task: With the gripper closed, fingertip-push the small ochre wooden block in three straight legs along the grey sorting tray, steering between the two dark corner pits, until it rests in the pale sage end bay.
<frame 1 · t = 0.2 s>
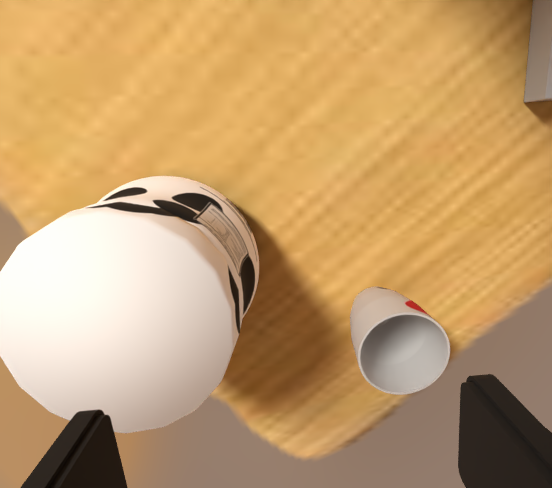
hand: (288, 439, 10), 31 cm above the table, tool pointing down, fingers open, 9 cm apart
cup: (373, 306, 43), on the table
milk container: (181, 252, 41), on the table
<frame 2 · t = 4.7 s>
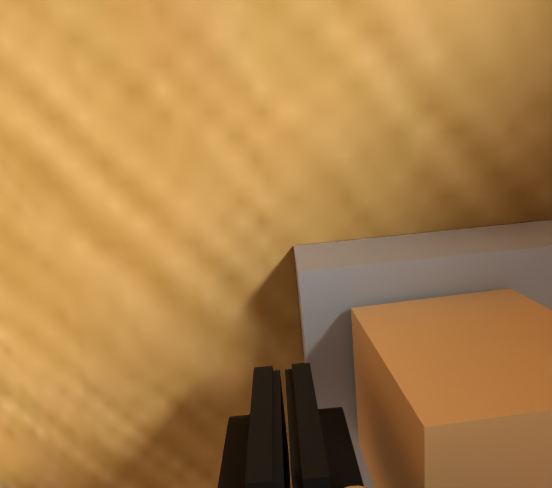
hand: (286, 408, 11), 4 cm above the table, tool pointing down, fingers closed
block: (430, 369, 12), point 3 cm above the table, touching grey sorting tray, gripper
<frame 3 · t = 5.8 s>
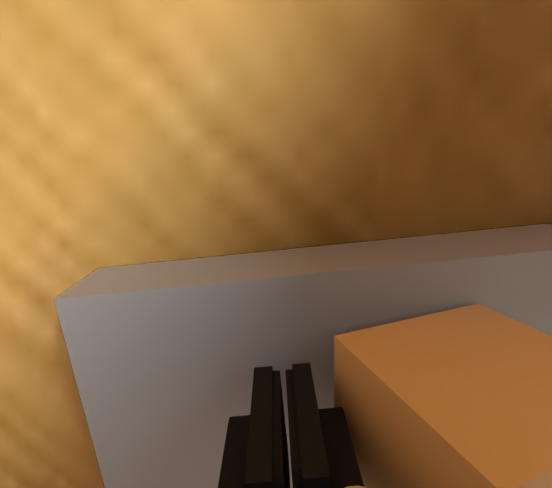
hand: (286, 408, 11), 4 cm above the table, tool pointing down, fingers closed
grey sorting tray: (413, 453, 17), on the table
block: (407, 393, 11), point 4 cm above the table, tilted 20°, touching gripper
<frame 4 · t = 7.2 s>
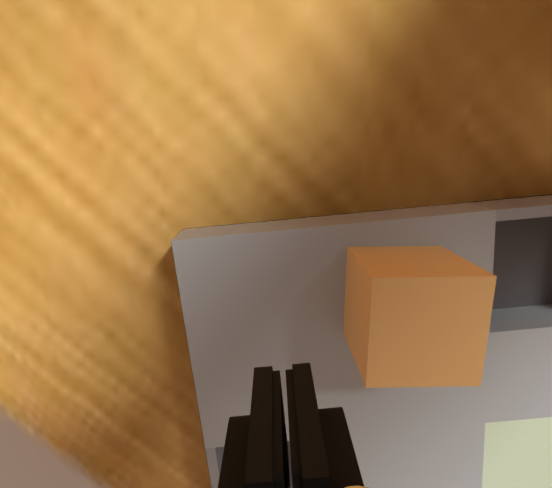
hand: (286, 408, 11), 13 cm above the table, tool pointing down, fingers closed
grey sorting tray: (386, 359, 25), on the table
block: (390, 290, 20), point 3 cm above the table, touching grey sorting tray
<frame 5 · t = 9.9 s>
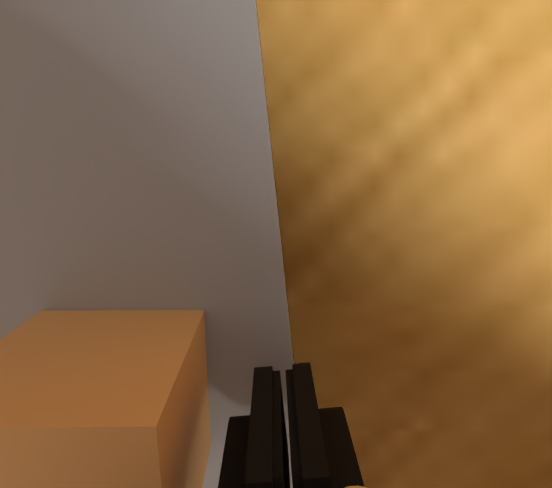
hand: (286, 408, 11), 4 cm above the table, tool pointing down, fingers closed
grey sorting tray: (49, 362, 15), on the table
block: (130, 381, 12), point 3 cm above the table, touching gripper
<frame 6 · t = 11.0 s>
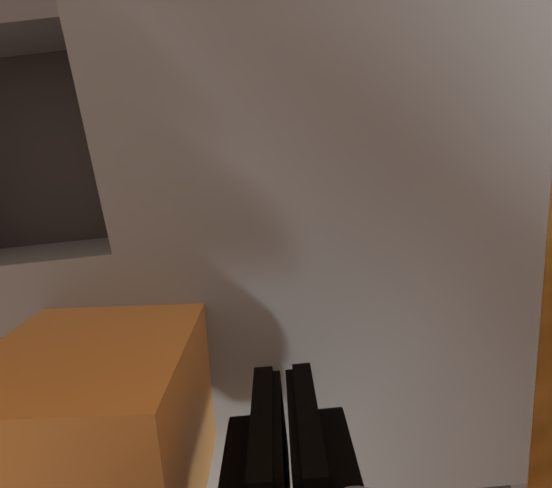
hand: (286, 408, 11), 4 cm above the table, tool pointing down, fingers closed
grey sorting tray: (240, 343, 15), on the table
block: (134, 376, 12), point 3 cm above the table, touching gripper
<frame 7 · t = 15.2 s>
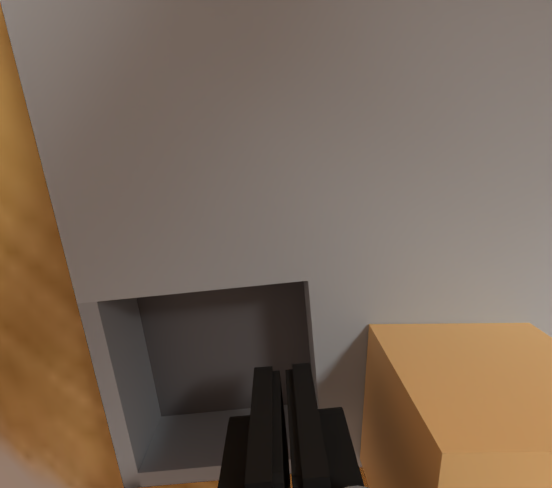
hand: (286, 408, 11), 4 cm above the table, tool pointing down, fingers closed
grey sorting tray: (434, 157, 13), on the table
block: (440, 393, 12), point 3 cm above the table, touching grey sorting tray, gripper
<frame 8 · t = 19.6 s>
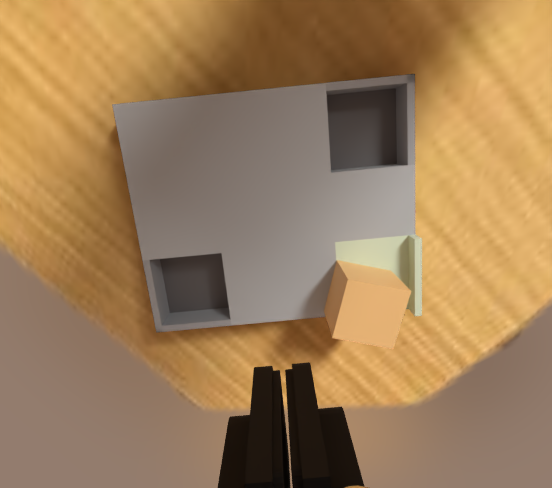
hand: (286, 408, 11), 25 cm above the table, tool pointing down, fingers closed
grey sorting tray: (274, 208, 35), on the table
block: (357, 291, 34), point 3 cm above the table, touching grey sorting tray
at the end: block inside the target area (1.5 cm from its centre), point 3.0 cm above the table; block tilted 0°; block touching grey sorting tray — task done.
